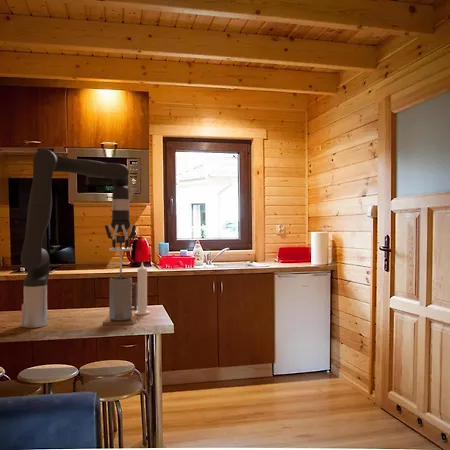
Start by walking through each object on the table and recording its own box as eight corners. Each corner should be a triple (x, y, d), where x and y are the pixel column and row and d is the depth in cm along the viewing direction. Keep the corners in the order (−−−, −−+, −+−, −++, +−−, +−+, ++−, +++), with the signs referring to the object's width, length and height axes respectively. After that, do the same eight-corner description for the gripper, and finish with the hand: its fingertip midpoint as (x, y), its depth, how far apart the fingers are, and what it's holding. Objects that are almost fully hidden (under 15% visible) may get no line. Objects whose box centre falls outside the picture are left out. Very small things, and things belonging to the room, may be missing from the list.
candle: (135, 315, 208) (135, 262, 208) (134, 312, 215) (134, 261, 215) (150, 314, 210) (150, 262, 210) (148, 311, 216) (148, 261, 217)
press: (102, 325, 187) (102, 280, 187) (109, 318, 200) (109, 276, 200) (134, 324, 188) (134, 280, 188) (138, 318, 201) (138, 276, 201)
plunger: (107, 290, 189) (106, 235, 189) (111, 287, 199) (111, 235, 199) (130, 290, 189) (130, 235, 189) (133, 286, 199) (133, 235, 199)
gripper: (102, 209, 190) (102, 248, 190) (135, 209, 191) (135, 248, 191) (106, 210, 198) (106, 247, 197) (138, 210, 198) (138, 247, 198)
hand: (120, 247), depth 194 cm, fingers open, 4 cm apart
